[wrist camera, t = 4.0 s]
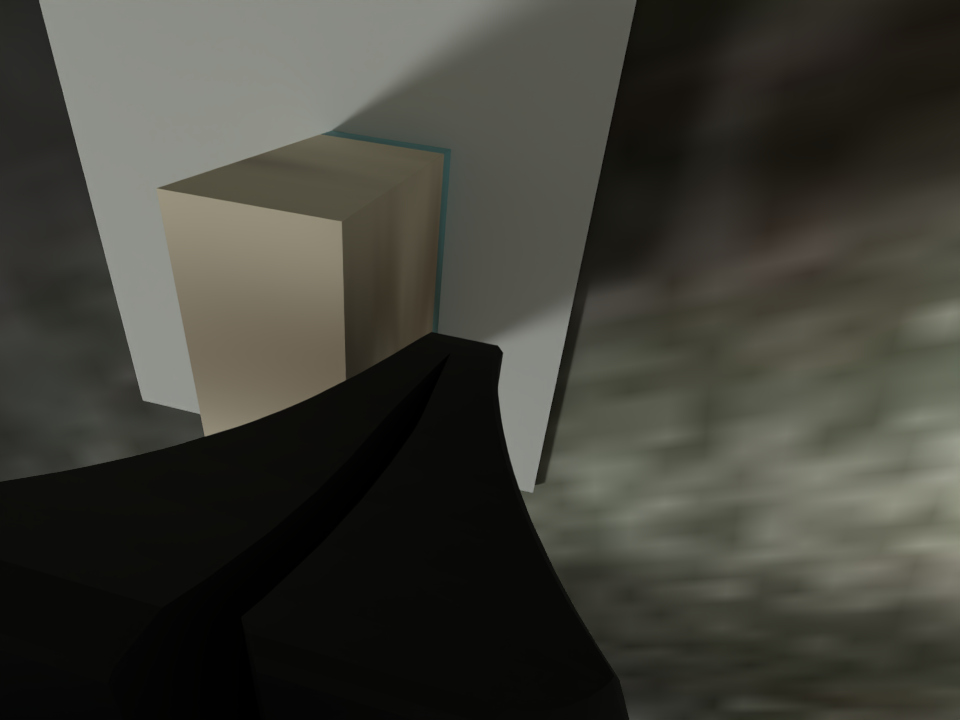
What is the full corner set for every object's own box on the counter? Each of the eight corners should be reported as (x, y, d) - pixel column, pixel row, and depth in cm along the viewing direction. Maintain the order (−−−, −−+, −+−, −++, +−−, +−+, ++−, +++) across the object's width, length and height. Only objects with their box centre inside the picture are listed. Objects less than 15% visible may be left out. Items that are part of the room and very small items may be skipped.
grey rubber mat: (534, 486, 18) (532, 492, 18) (148, 395, 20) (142, 400, 20) (645, -43, 11) (645, -44, 11) (23, -106, 13) (10, -110, 12)
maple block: (435, 364, 16) (349, 514, 11) (338, 344, 17) (213, 480, 12) (451, 149, 13) (342, 222, 8) (331, 130, 14) (155, 188, 8)
